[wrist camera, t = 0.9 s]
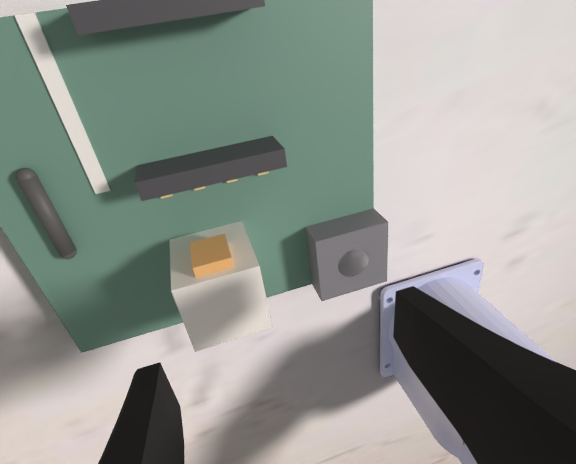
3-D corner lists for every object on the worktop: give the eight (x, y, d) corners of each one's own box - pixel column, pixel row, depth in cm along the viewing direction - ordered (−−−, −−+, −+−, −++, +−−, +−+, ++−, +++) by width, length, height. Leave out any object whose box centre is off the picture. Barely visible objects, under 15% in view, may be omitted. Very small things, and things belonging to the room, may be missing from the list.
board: (364, 254, 23) (390, 285, 21) (85, 336, 21) (73, 383, 18) (358, -33, 15) (399, -42, 13) (-100, 33, 13) (-171, 38, 10)
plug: (254, 276, 20) (272, 327, 17) (189, 295, 20) (195, 351, 16) (240, 212, 18) (257, 256, 15) (166, 230, 18) (167, 281, 14)
